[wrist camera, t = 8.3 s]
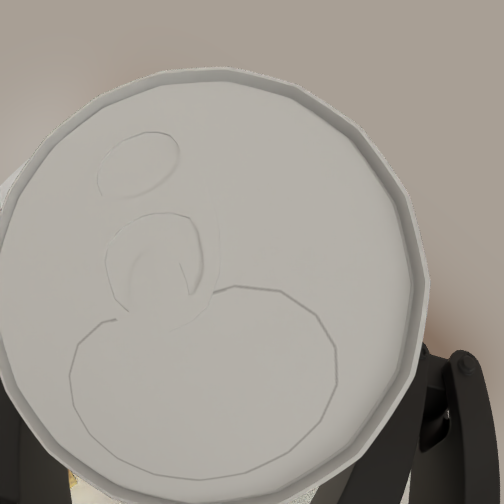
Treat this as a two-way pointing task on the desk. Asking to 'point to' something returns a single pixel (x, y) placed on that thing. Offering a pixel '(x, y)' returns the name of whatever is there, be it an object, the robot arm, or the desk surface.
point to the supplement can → (209, 290)
